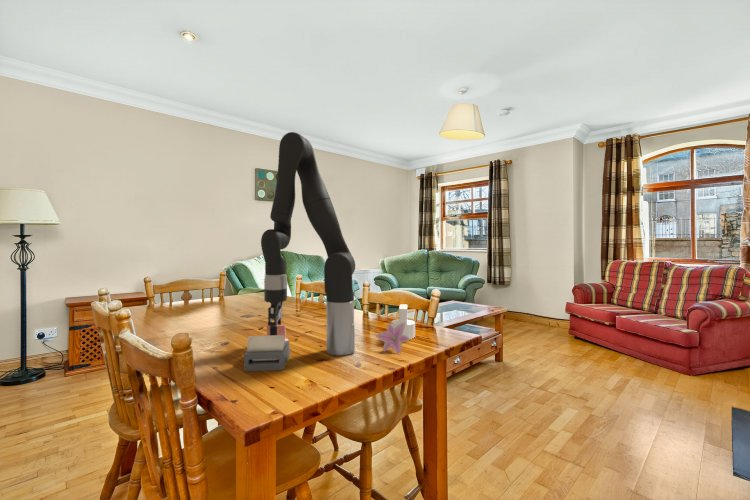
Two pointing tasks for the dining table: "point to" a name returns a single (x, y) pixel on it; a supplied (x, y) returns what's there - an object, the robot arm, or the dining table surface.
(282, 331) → the pink-tipped cream block
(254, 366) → the dispenser
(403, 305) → the base with upright slab
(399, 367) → the dining table surface
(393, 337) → the lily
